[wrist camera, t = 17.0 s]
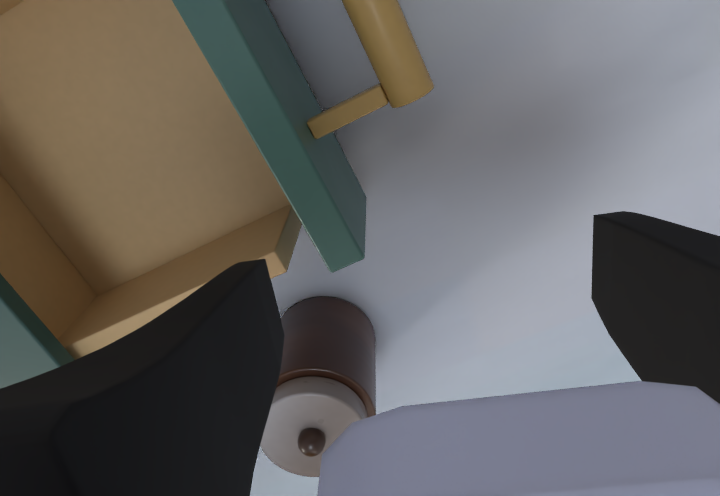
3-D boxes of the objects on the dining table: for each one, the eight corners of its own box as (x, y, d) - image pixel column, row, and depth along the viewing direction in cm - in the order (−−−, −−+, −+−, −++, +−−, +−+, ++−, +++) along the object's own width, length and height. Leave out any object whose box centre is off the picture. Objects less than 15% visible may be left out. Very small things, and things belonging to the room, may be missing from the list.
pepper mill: (270, 370, 26) (238, 489, 20) (282, 287, 24) (251, 390, 18) (365, 386, 26) (362, 508, 20) (384, 305, 24) (388, 412, 18)
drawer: (295, -227, 16) (260, -330, 11) (459, 155, 21) (488, 206, 16) (-106, 38, 19) (-273, 53, 14) (114, 315, 24) (46, 399, 19)
